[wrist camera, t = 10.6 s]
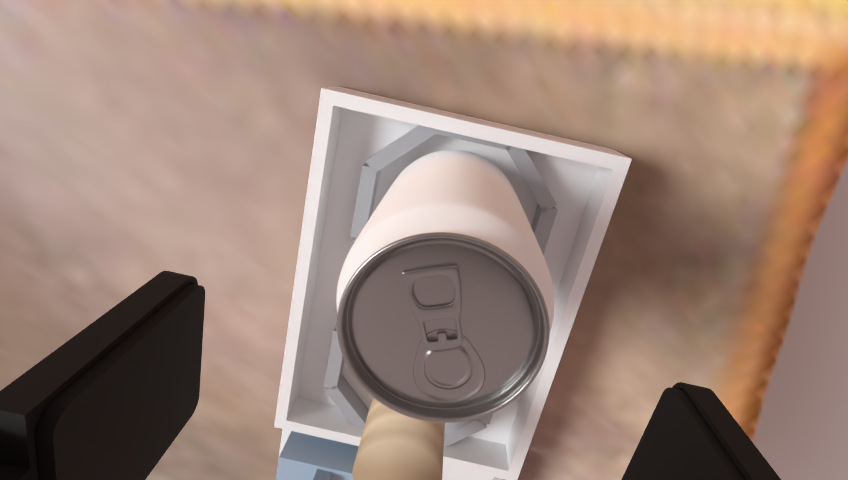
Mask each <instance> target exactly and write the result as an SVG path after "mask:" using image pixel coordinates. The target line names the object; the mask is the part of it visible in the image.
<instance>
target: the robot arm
mask: <svg viewBox="0 0 848 480" xmlns="http://www.w3.org/2000/svg"><path fill="white" fill-rule="evenodd" d="M204 304H205V289H204V287H203V286H199V285H198V282H197V279H196V278H195V277H193V276H188V275H183V274H179V273H174V272H170V271H163V272H161V273H159V274H158V275H157V276H155V277H154V278H153V279H151V280H150V281H149V282H147V283H146V284H145V285H143V286H142V287H140V288H139V289H138V290H136V291H135V292H134V293H132V294H131V295H130V296H128V297H127V298H126V299H124V300H123V301H122V302H120V303H119V304H117V305H116V306H115V307H113V308H112V309H111V310H109V311H108V312H107V313H105V314H104V315H103V316H101V317H100V318H99V319H97V320H96V321H94V322H93V323H92V324H90V325H89V326H88V327H86V328H85V329H84V330H82V331H81V332H80V333H78V334H77V335H76V336H74V337H73V338H71V339H70V340H69V341H67V342H66V343H65V344H63V345H62V346H61V347H59V348H58V349H57V350H55V351H54V352H53V353H51V354H50V355H48V356H47V357H46V358H44V359H43V360H42V361H40V362H39V363H38V364H36V365H35V366H34V367H32V368H31V369H30V370H28V371H27V372H25V373H24V374H23V375H21V376H20V377H19V378H17V379H16V380H15V381H13V382H12V383H11V384H9V385H8V386H7V387H5V388H4V389H3V390H1V391H0V480H145V479H146V478H147V476H148V475H149V474H150V472H151V471H152V469H153V468H154V467H155V465H156V464H157V463H158V461H159V460H160V459H161V457H162V456H163V454H164V453H165V452H166V450H167V449H168V448H169V446H170V445H171V443H172V442H173V441H174V439H175V438H176V437H177V435H178V434H179V432H180V431H181V430H182V428H183V427H184V426H185V424H186V423H187V421H188V420H189V419H190V417H191V416H192V414H193V413H194V411H195V409H196V406H197V403H198V399H199V389H200V372H201V355H202V338H203V321H204ZM622 480H781V479H780V478H779V476H778V475H777V474H776V473H775V471H774V470H773V469H772V467H771V466H770V465H769V463H768V462H767V461H766V460H765V458H764V457H763V456H762V454H761V453H760V452H759V450H758V449H757V448H756V447H755V445H754V444H753V443H752V441H751V440H750V439H749V437H748V436H747V435H746V434H745V432H744V431H743V430H742V428H741V427H740V426H739V424H738V423H737V422H736V421H735V419H734V418H733V417H732V415H731V414H730V413H729V411H728V410H727V409H726V408H725V406H724V405H723V404H722V402H721V401H720V400H719V398H718V397H717V396H716V395H715V393H714V392H713V391H712V390H711V389H708V388H704V387H700V386H695V385H691V384H686V383H681V382H680V383H676V384H675V385H674V386H673V387H672V388H667V389H665V390H664V392H663V393H662V396H661V398H660V400H659V402H658V404H657V406H656V408H655V410H654V412H653V415H652V417H651V419H650V421H649V423H648V425H647V427H646V429H645V431H644V434H643V436H642V438H641V440H640V442H639V444H638V446H637V448H636V450H635V453H634V455H633V457H632V459H631V461H630V463H629V465H628V467H627V469H626V472H625V474H624V476H623V478H622Z"/></svg>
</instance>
